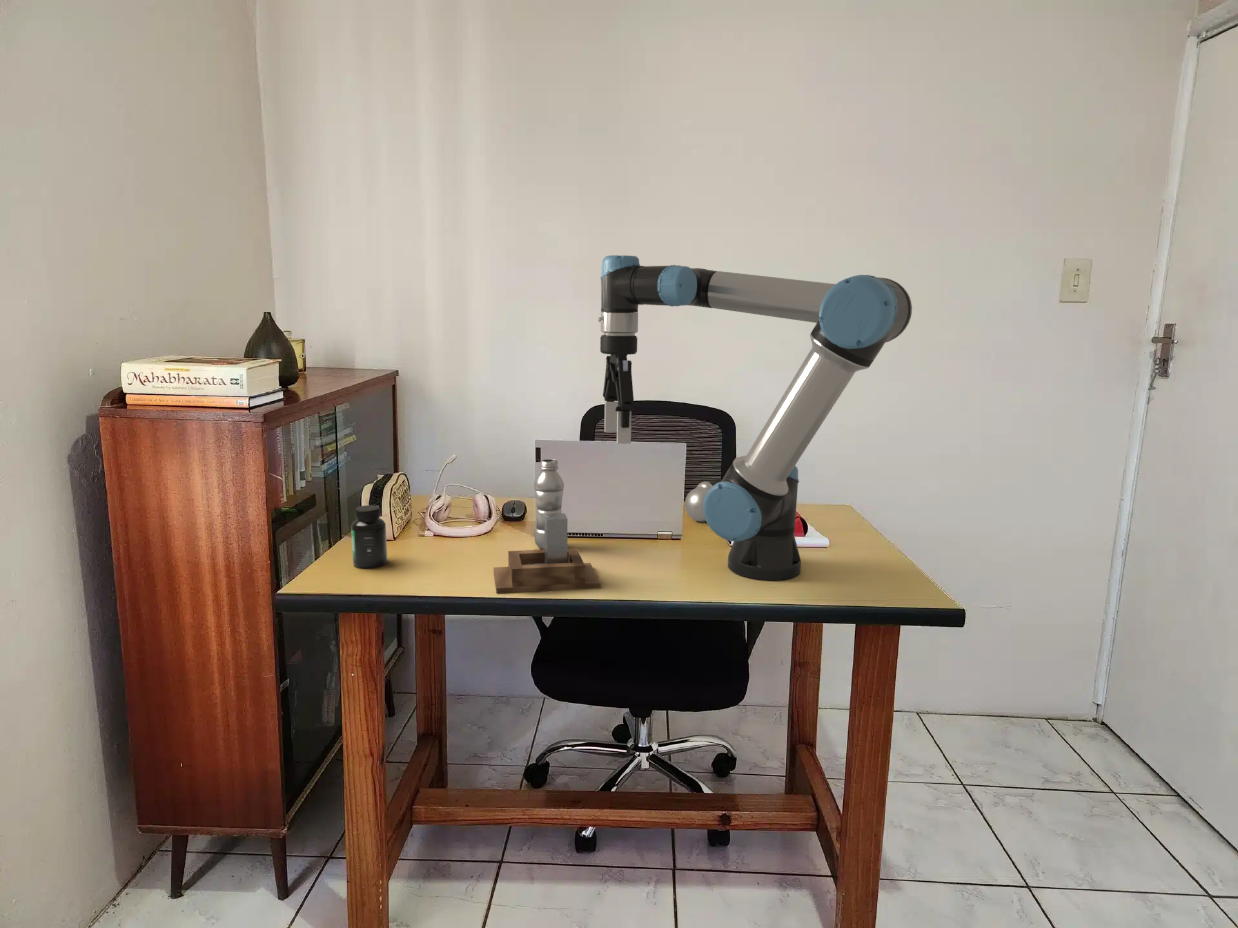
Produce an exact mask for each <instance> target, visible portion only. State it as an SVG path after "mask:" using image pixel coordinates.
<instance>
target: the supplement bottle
mask: <svg viewBox="0 0 1238 928" xmlns="http://www.w3.org/2000/svg"><path fill="white" fill-rule="evenodd" d="M380 517H381V508H380V506H378V505H373V504H369V505H368V504H367V505H361V506H358V507H356V508H355V518H356V519H355V520H354V521H353V522H352V524H351V527H350V531H351V533H350V534H351V550H352V551H351V552H352V563H353V565H354V567H356V568H359V569H364V570H365V569H366V570H367V569H376V568H380V567H382V566H384V565H386V563H387V561H388V546H387V544H388V543H387V526H386V525H387V524H386V523H385V520H383V518H380Z"/></svg>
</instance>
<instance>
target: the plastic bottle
mask: <svg viewBox="0 0 1238 928" xmlns="http://www.w3.org/2000/svg"><path fill="white" fill-rule="evenodd" d="M539 469H540V471H541V472H540V473H539V474H538V475H537V476H536V477H535V479H534V484H533V486H534V487H533V489H534V494H535V500H536V502H535V503H536V523H535V524H536V526H535V528H534V529H535V530H534V543H535V545H536V547H538V548H539V549H540V550H544V549H545V514H559V513H562V505H563V504H562V503H563V494H564V488H565V486H564V485H565V484H564V481H563V479H562V477H561V476H560V474H559V472H558V471H557V470H558V469H559V465H558V459H553V458H552V459H551V458H546V459H545V458H544V459H541V460H540V466H539Z"/></svg>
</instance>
